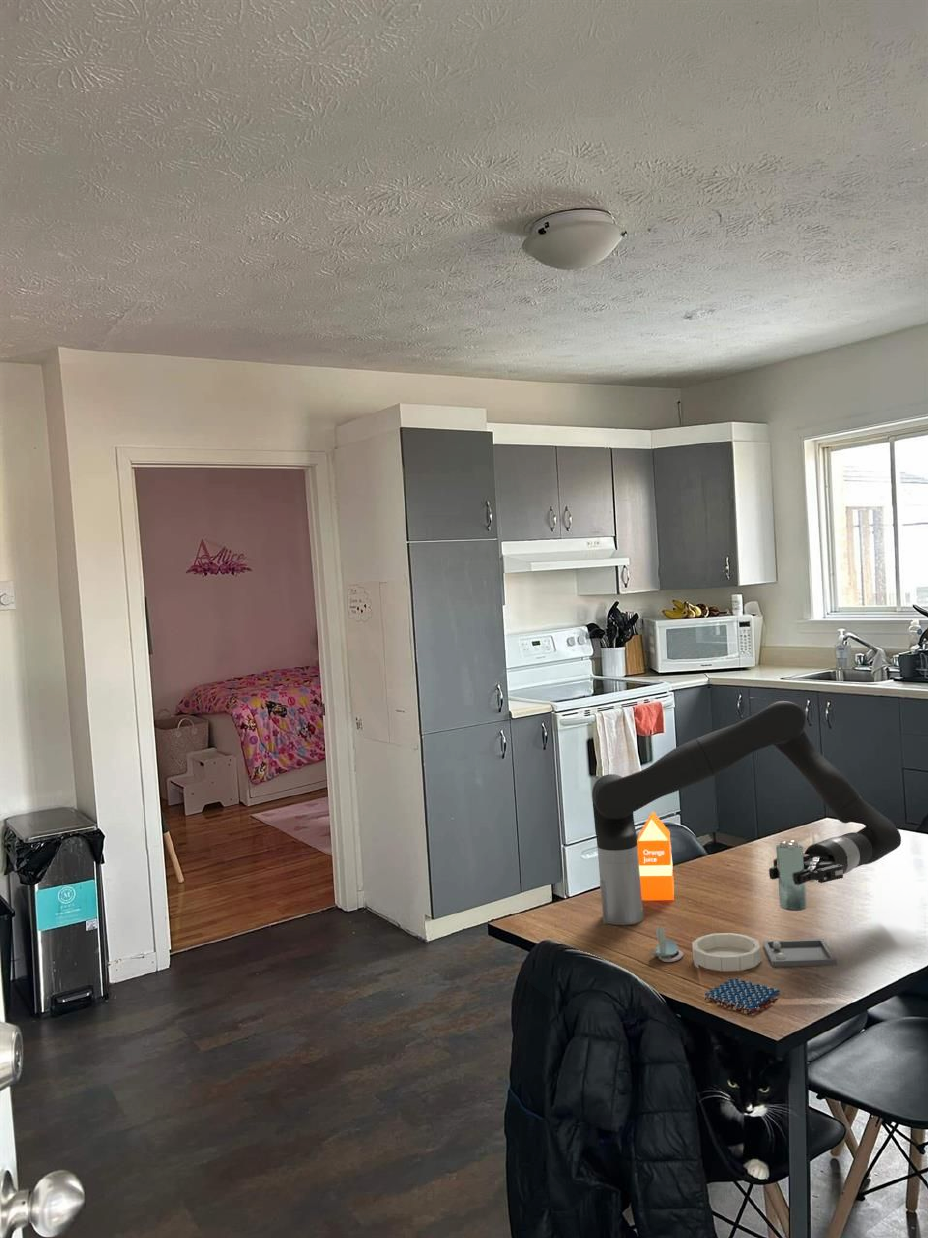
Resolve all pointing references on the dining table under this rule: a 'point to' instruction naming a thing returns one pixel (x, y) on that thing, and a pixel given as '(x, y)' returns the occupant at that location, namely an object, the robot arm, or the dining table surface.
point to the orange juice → (655, 860)
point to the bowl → (726, 952)
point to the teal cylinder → (790, 876)
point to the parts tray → (799, 953)
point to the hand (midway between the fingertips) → (783, 877)
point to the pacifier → (666, 947)
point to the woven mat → (743, 996)
